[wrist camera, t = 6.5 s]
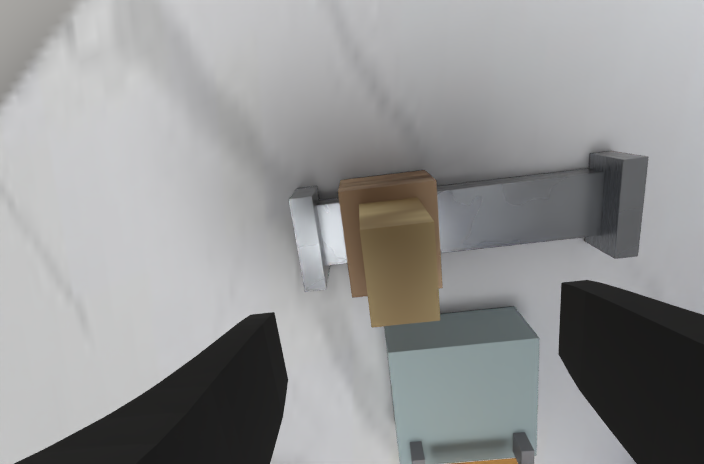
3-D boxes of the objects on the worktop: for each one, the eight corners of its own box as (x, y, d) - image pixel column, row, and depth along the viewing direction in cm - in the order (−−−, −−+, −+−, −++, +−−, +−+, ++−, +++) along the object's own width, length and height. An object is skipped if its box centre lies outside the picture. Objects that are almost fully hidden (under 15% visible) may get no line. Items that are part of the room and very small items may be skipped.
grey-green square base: (514, 306, 21) (550, 352, 17) (513, 412, 23) (546, 475, 19) (383, 319, 21) (389, 367, 17) (395, 422, 23) (402, 486, 19)
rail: (611, 150, 18) (648, 156, 16) (604, 238, 19) (637, 256, 17) (296, 188, 19) (288, 199, 17) (310, 271, 20) (304, 291, 18)
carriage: (424, 170, 18) (458, 200, 12) (430, 263, 20) (464, 333, 14) (340, 179, 18) (332, 215, 12) (352, 272, 20) (350, 344, 14)
